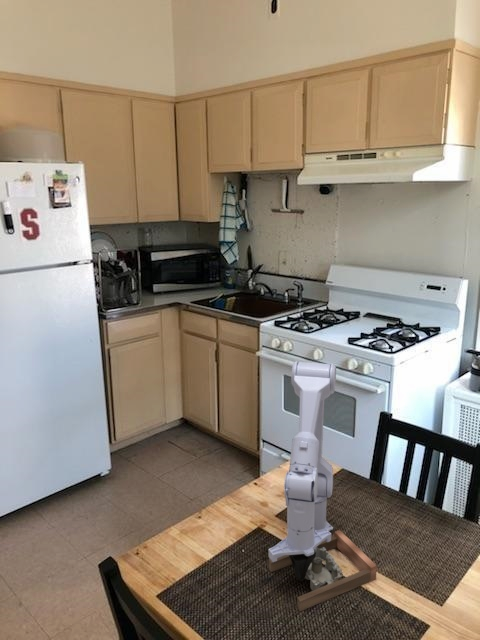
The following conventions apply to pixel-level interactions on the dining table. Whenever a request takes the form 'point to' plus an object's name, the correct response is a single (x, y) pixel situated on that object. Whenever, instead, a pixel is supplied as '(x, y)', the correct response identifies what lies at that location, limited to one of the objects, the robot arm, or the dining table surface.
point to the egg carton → (322, 570)
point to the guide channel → (341, 585)
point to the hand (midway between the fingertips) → (300, 577)
